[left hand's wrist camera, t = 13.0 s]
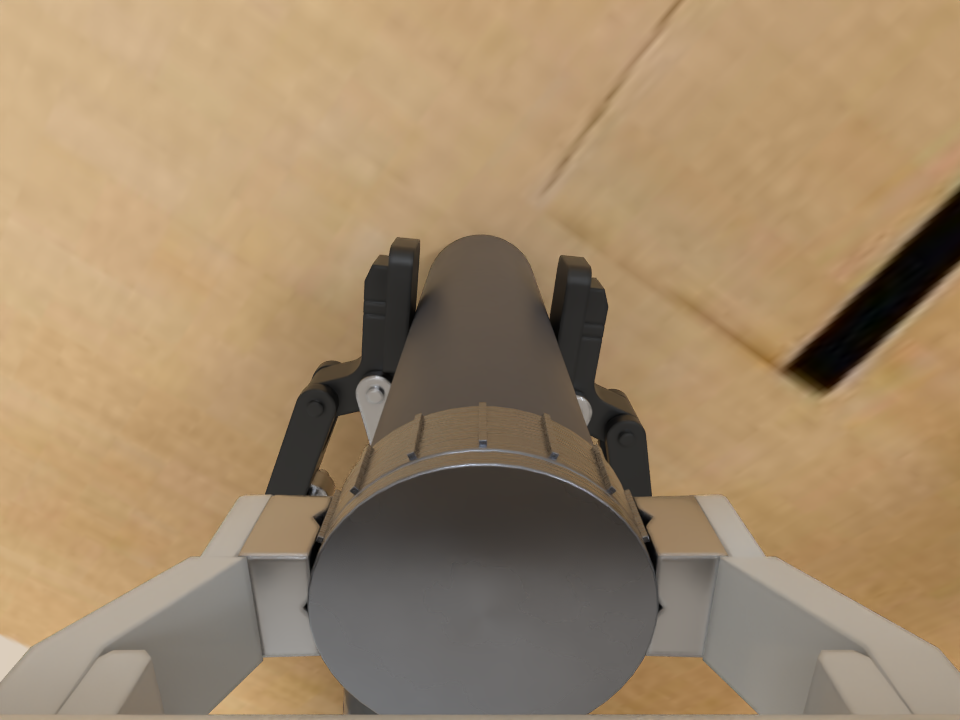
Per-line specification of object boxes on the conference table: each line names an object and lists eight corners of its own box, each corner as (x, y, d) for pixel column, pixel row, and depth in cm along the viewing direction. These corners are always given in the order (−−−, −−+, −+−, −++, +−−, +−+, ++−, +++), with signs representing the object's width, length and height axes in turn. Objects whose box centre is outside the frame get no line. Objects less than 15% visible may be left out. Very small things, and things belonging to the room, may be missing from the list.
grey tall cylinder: (555, 302, 25) (689, 626, 9) (466, 358, 26) (445, 745, 10) (496, 212, 24) (530, 401, 8) (405, 274, 25) (266, 560, 9)
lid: (685, 571, 10) (724, 654, 9) (445, 692, 11) (439, 787, 10) (530, 341, 9) (541, 389, 7) (268, 503, 10) (228, 577, 8)
